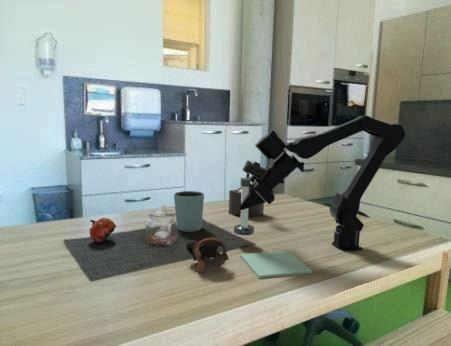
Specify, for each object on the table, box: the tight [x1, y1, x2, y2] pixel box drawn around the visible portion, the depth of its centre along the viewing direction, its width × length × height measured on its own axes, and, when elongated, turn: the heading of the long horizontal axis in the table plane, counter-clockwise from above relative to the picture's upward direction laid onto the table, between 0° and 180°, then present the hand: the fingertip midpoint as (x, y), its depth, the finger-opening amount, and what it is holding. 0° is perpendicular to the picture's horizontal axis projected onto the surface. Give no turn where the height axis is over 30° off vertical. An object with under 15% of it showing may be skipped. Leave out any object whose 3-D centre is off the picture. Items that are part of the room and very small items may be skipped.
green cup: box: [173, 190, 205, 233], centre depth 121 cm, size 10×10×12 cm
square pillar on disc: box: [233, 177, 255, 236], centre depth 105 cm, size 6×6×16 cm
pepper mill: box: [228, 173, 265, 219], centre depth 141 cm, size 16×11×18 cm
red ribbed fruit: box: [89, 217, 117, 244], centre depth 106 cm, size 7×7×10 cm
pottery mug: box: [185, 237, 229, 274], centre depth 90 cm, size 12×10×8 cm
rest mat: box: [239, 250, 313, 279], centre depth 92 cm, size 14×14×1 cm
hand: (239, 207), depth 105 cm, fingers closed on square pillar on disc, 3 cm apart
